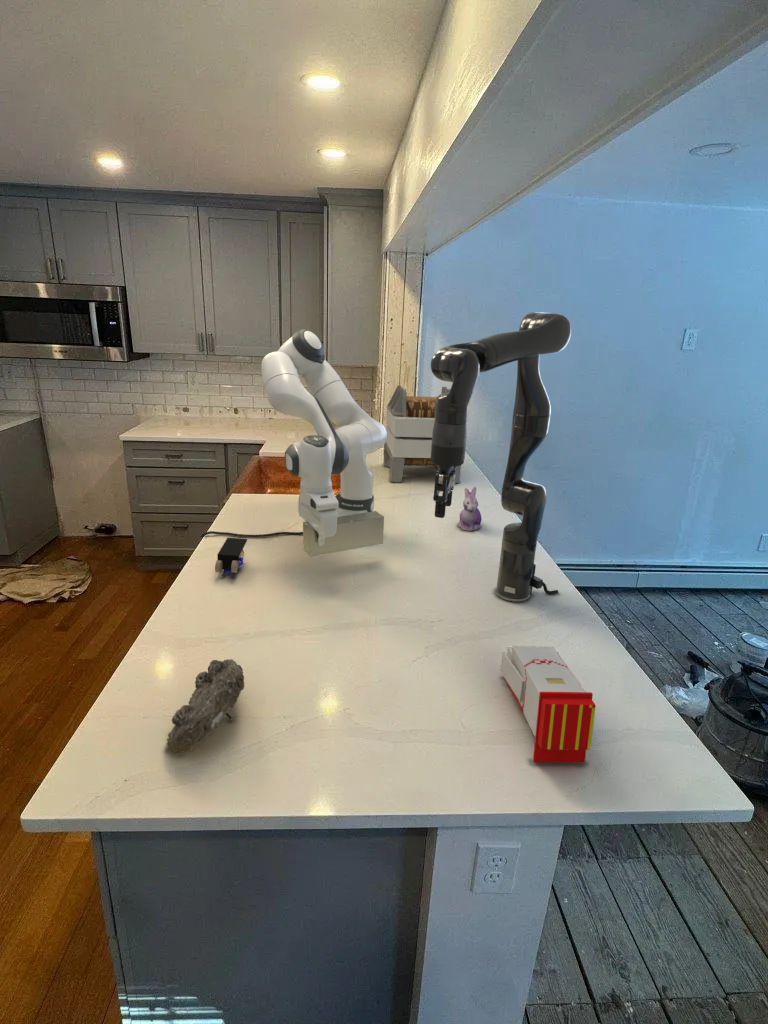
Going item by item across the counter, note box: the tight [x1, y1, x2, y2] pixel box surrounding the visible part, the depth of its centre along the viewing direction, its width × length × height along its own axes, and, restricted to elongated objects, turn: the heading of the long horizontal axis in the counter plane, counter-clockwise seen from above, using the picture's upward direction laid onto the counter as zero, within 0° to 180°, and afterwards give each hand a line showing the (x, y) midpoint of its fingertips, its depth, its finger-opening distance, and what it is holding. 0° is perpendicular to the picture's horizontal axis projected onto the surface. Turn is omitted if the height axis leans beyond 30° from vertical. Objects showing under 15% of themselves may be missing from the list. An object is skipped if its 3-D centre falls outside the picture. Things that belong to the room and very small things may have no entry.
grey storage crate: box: [383, 384, 462, 484], centre depth 268 cm, size 34×33×41 cm
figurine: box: [458, 486, 482, 532], centre depth 206 cm, size 9×10×15 cm
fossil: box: [166, 658, 245, 754], centre depth 106 cm, size 22×10×15 cm
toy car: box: [214, 537, 248, 578], centre depth 166 cm, size 7×8×15 cm
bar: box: [302, 510, 385, 558], centre depth 166 cm, size 24×6×9 cm, turn 119°
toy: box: [499, 645, 597, 764], centre depth 112 cm, size 12×13×30 cm
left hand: (316, 540), depth 163 cm, fingers closed on bar, 5 cm apart
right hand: (443, 511), depth 130 cm, fingers open, 8 cm apart
